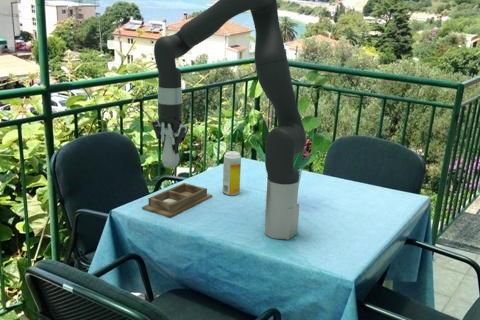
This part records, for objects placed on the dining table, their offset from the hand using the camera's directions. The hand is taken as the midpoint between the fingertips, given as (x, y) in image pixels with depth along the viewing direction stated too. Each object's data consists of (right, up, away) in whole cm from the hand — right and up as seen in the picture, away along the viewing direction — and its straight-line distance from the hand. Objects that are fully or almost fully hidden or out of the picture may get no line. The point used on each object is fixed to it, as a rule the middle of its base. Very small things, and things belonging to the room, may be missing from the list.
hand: (170, 153), depth 166 cm
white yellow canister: (+19, -14, +20) cm, 31 cm away
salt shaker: (0, -4, +1) cm, 4 cm away
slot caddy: (+2, -17, +9) cm, 19 cm away
